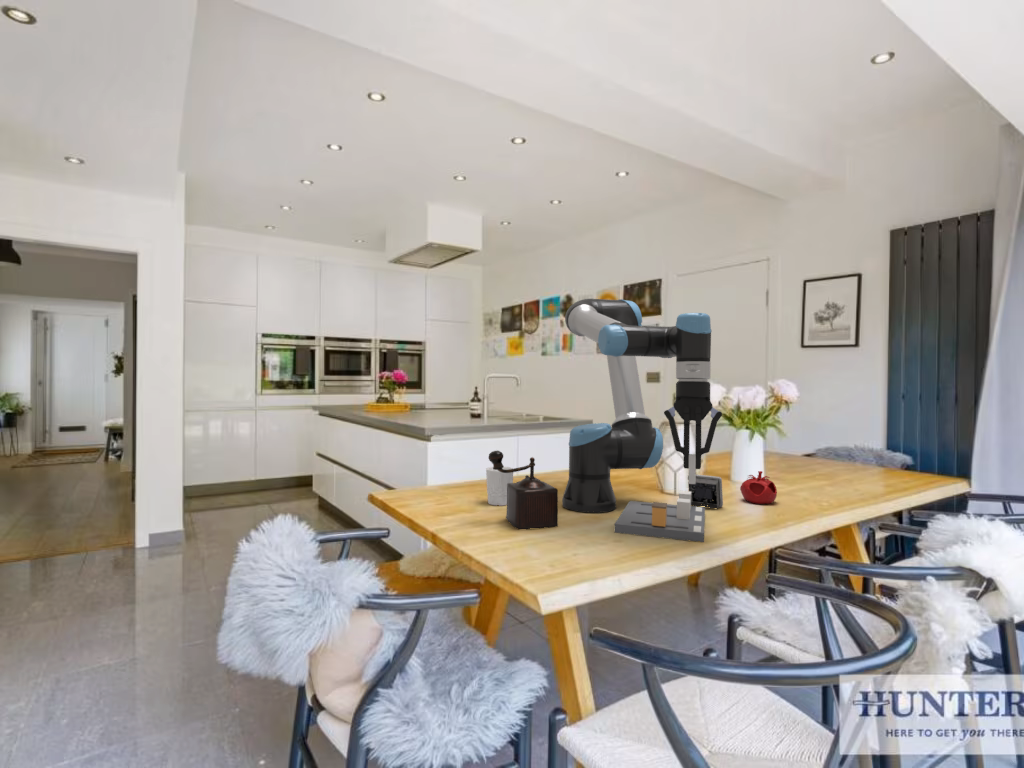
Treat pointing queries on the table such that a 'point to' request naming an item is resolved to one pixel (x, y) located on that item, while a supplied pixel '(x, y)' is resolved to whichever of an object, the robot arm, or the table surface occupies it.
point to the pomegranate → (759, 490)
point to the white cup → (498, 485)
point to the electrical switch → (706, 491)
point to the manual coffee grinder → (528, 498)
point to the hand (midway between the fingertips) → (692, 482)
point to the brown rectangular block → (659, 514)
